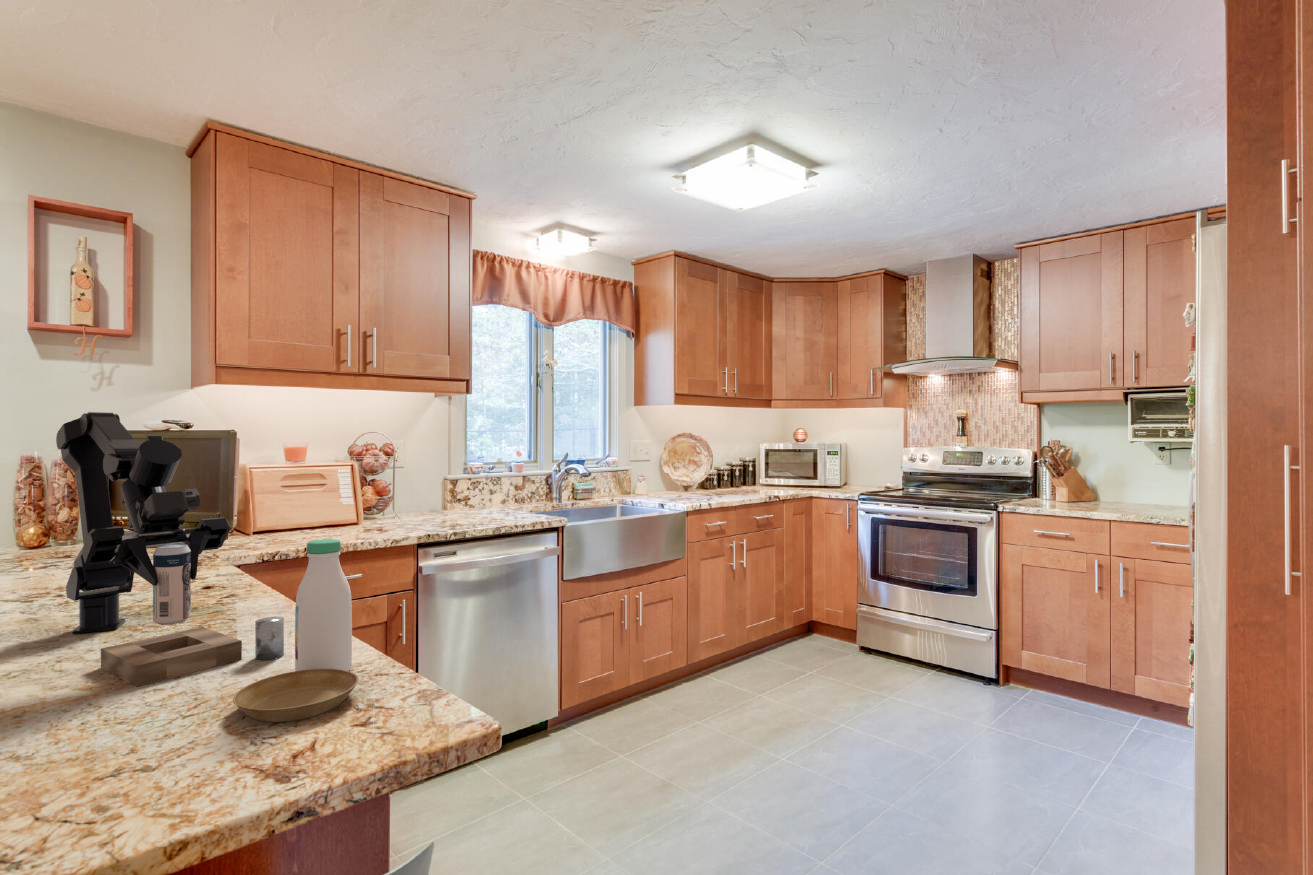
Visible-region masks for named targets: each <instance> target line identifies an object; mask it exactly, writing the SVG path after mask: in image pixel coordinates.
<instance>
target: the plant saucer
mask: <svg viewBox="0 0 1313 875" xmlns="http://www.w3.org/2000/svg"><path fill="white" fill-rule="evenodd" d="M359 679H360V678H359V676H358V674H356V673H355V672H352V671H347V670H341V669H309V670H300V671H295V670H294V671H288V672H285V673H281V674H275V675H273V676H269V677H266V678H262V679H260V680H256V681H254V682H252V683H250V684H248V685H246V686H244V687H242V688H240V689H239V690H238V691H237V692H236V693H235V694H234V695H233V697H232V702H233V704H234V705H235V706H236V707H238V709H239V710H241V711H242V712H243V713H245V715H247V716H249V717H250V718H253V719H255V720H258V721H262V722H269V723H270V722H271V723H273V722H274V723H281V722H291V721H298V720H303V719H308V718H312V717H315V716H318V715H319V716H320V715H321V714H324V713H326V712H329V711H331V710H333V709H335V708H337V706H339V705H340V704H342V703H343V701H345V700H346V698H347V697H348V696H349V695H350V694H351V693H352V692H353V690H354V689H355V688H356V686H357V684H358V683H359Z"/></svg>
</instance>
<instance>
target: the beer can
mask: <svg viewBox="0 0 1313 875" xmlns="http://www.w3.org/2000/svg"><path fill="white" fill-rule="evenodd" d="M152 557H153V558H152V564H153V567H154V569H155V571H156V574H157V578H158V583H157V585H156V586H153V585H152V622H153V623H155V624H158V625H159V626H169V625H176V624H180V623H184V622H186V621H187V620H188V619H190V618H191V614H192V613H191V608H192V607H191V606H192V605H191V603H192V602H191V598H192V597H191V596H192V595H191V594H192V588H191V586H192V585H191V584H192V582H191V580H192V579H191V550H190V549H189V547H188V545H186V544H181V543H179V544H170V545H161V546H156V548H155V550H154V552H153V554H152Z"/></svg>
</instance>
